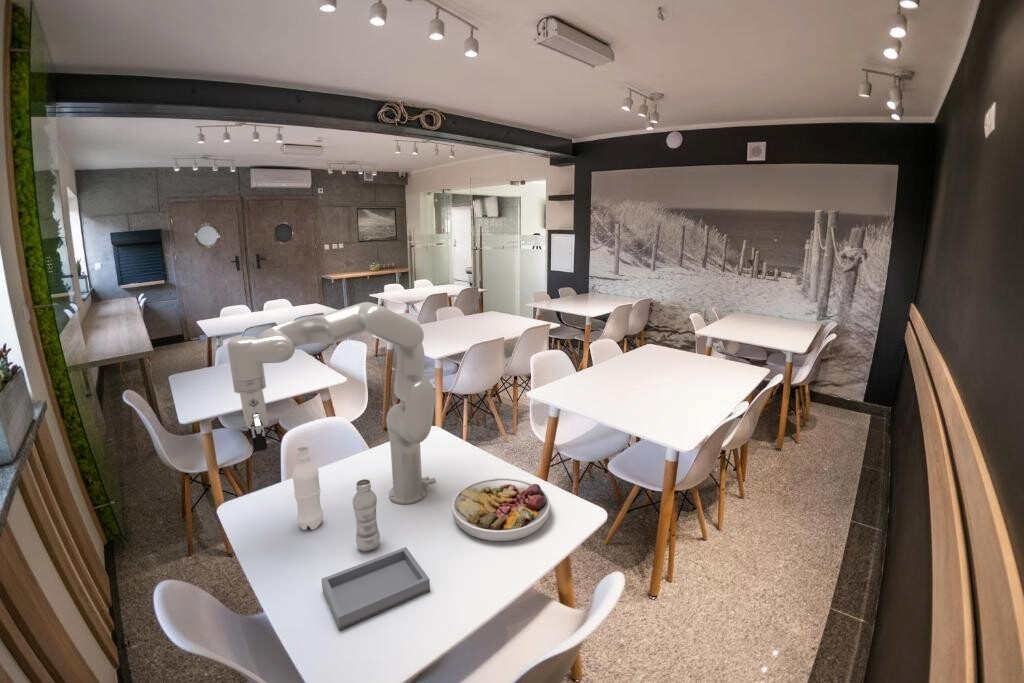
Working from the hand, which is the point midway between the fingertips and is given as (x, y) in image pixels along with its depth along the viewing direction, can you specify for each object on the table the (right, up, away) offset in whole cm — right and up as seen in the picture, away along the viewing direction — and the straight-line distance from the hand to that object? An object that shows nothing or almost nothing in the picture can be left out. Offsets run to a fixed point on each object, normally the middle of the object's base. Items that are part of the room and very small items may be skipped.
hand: (258, 443), depth 135 cm
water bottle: (+8, -28, +15) cm, 33 cm away
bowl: (+65, -27, +19) cm, 73 cm away
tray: (+35, -34, -12) cm, 50 cm away
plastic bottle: (+29, -30, +5) cm, 42 cm away
